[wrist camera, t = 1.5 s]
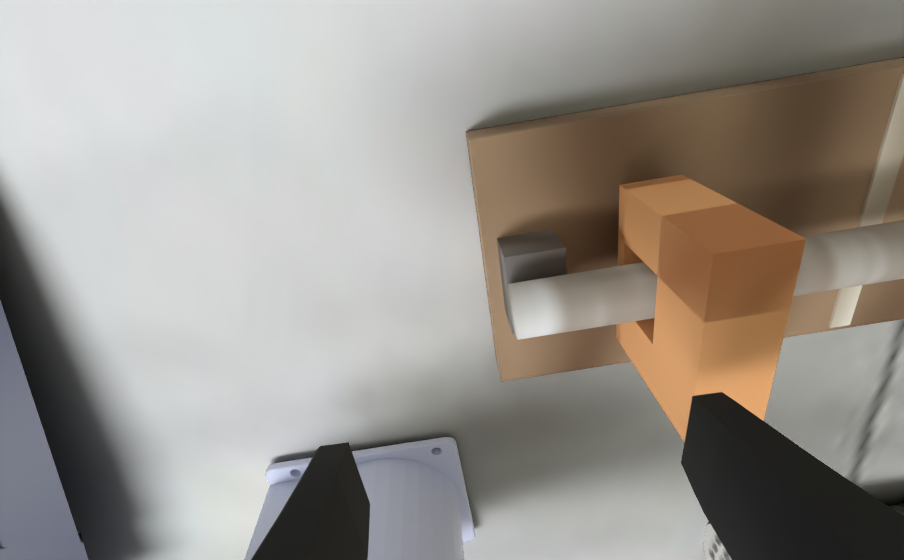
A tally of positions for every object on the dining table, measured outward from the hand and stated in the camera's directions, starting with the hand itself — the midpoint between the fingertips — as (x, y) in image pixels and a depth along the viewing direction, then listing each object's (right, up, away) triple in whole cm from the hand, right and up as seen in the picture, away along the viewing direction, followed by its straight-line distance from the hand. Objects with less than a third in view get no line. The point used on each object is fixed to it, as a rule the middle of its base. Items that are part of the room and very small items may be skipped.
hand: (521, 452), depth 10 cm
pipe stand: (+10, +6, +8) cm, 14 cm away
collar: (+5, +4, +6) cm, 9 cm away
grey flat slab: (-30, -2, +10) cm, 32 cm away
